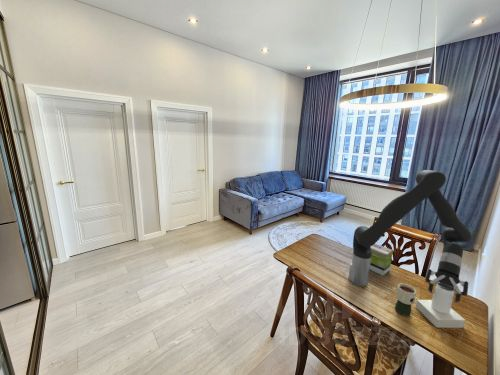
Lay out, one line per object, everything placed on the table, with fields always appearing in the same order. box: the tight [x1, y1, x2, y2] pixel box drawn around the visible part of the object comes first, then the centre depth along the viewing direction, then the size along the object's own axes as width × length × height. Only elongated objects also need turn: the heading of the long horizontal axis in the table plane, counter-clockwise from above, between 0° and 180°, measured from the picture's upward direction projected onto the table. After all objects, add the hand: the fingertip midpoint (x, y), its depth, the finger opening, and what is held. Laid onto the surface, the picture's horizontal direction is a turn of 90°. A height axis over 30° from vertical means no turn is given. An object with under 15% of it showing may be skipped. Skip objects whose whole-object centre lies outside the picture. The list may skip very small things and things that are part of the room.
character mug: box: [394, 283, 417, 317], centre depth 101 cm, size 11×7×13 cm, turn 133°
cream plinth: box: [415, 299, 466, 329], centre depth 99 cm, size 12×12×4 cm
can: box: [431, 282, 455, 314], centre depth 97 cm, size 6×6×12 cm
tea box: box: [369, 243, 394, 277], centre depth 136 cm, size 15×10×15 cm, turn 37°
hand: (442, 297), depth 96 cm, fingers open, 8 cm apart
